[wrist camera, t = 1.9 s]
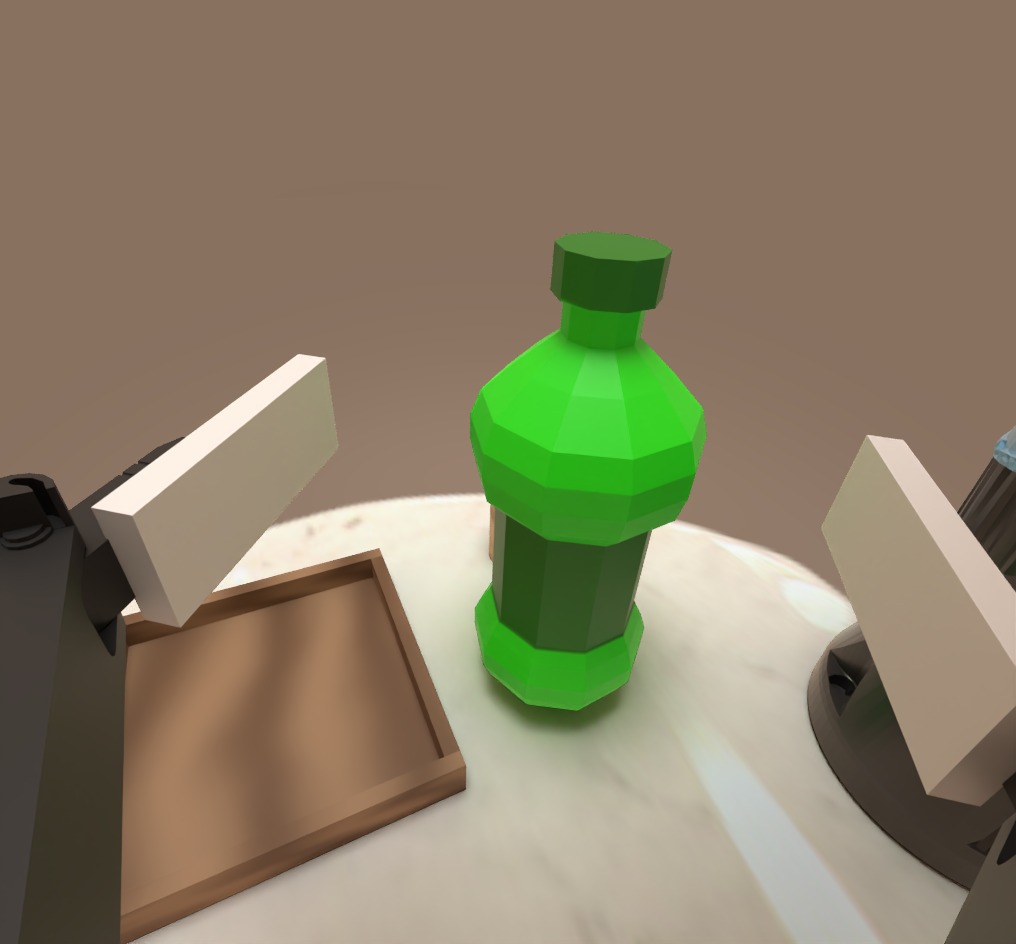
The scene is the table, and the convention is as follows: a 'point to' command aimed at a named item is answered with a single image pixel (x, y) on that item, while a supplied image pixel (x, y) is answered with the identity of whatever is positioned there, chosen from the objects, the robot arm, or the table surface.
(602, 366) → the plastic bottle
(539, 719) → the table surface
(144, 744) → the tray
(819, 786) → the table surface
